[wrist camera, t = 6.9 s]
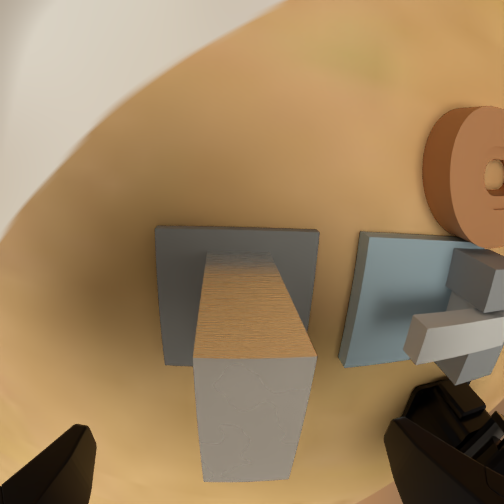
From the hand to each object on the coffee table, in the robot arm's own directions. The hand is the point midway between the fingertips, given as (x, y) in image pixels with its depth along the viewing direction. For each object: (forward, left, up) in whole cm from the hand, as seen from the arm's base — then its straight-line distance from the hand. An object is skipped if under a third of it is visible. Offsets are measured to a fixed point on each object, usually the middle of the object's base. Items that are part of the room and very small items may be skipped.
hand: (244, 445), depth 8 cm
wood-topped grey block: (0, 0, -9) cm, 9 cm away
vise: (0, -11, -10) cm, 15 cm away
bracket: (+9, -19, -10) cm, 23 cm away
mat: (0, 0, -10) cm, 10 cm away
